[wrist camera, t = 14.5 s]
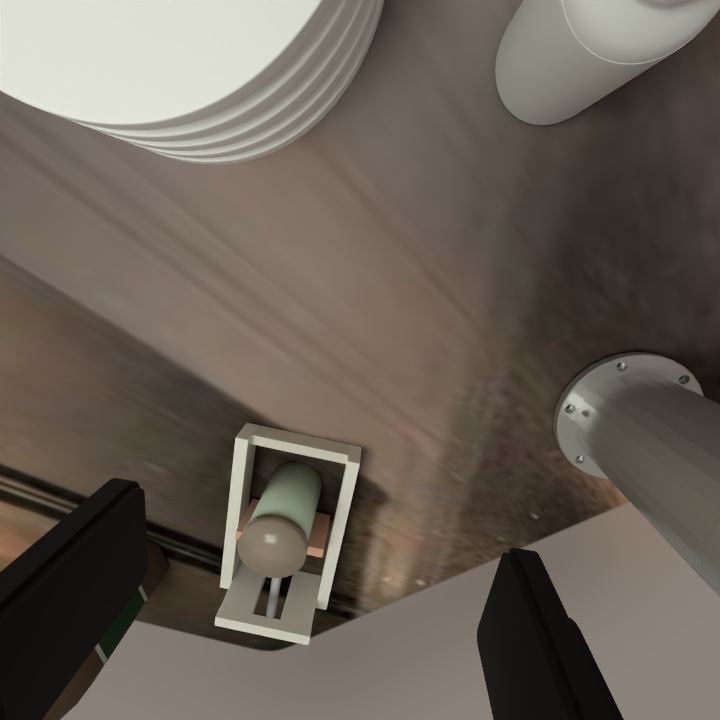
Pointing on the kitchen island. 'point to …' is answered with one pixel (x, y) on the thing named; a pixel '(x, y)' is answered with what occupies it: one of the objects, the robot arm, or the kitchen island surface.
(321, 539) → the pusher
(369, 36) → the plate stack
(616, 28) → the pill bottle
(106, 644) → the beer bottle
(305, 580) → the frame
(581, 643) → the robot arm
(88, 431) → the kitchen island surface
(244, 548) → the jar
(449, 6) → the kitchen island surface
